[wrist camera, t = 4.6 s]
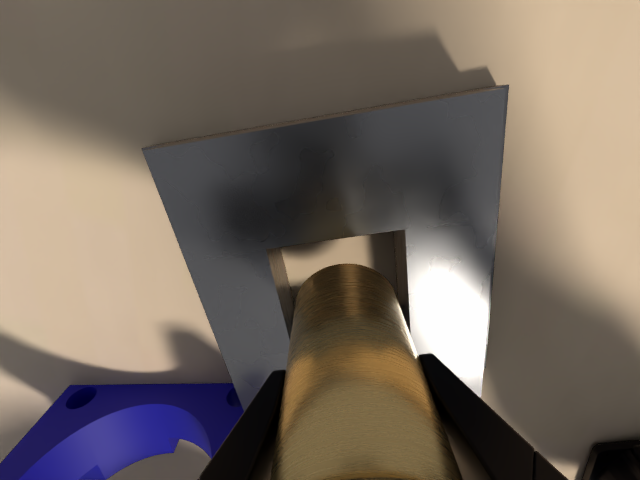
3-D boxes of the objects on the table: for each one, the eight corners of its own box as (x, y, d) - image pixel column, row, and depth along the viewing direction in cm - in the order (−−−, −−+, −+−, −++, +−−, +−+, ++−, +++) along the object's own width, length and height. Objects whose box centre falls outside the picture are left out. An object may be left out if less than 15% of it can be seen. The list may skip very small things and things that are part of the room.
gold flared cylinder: (407, 345, 13) (513, 663, 6) (299, 357, 13) (269, 670, 6) (401, 248, 11) (551, 536, 4) (276, 265, 11) (191, 558, 4)
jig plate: (478, 357, 18) (501, 395, 15) (240, 382, 19) (229, 422, 16) (497, 85, 12) (538, 82, 10) (151, 145, 13) (115, 155, 11)
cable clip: (95, 430, 21) (15, 547, 15) (71, 383, 19) (-30, 497, 14) (271, 429, 21) (253, 547, 15) (264, 380, 19) (240, 496, 13)
